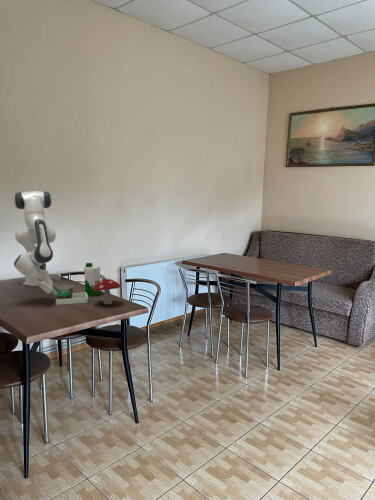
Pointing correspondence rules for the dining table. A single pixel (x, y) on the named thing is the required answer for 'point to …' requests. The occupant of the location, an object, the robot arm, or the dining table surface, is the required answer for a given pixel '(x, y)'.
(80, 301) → the pale green u-shaped frame
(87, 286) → the milk carton
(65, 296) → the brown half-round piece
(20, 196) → the robot arm
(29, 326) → the dining table surface
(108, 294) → the decorative mushroom
